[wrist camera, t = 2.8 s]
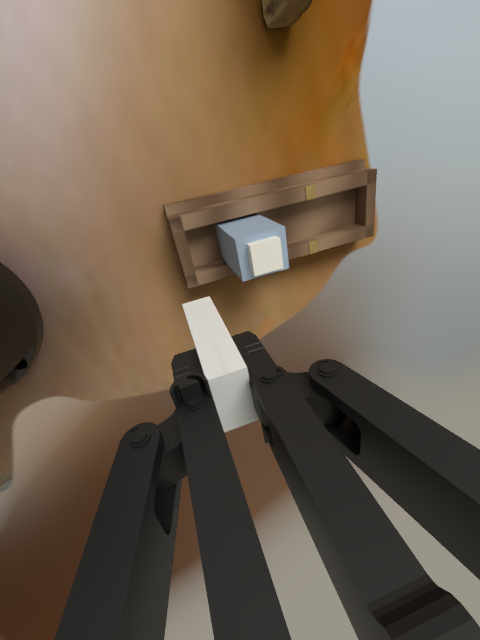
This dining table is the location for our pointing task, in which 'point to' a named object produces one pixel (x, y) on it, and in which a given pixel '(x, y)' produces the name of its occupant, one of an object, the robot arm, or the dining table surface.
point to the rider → (253, 245)
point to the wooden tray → (277, 216)
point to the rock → (283, 11)
